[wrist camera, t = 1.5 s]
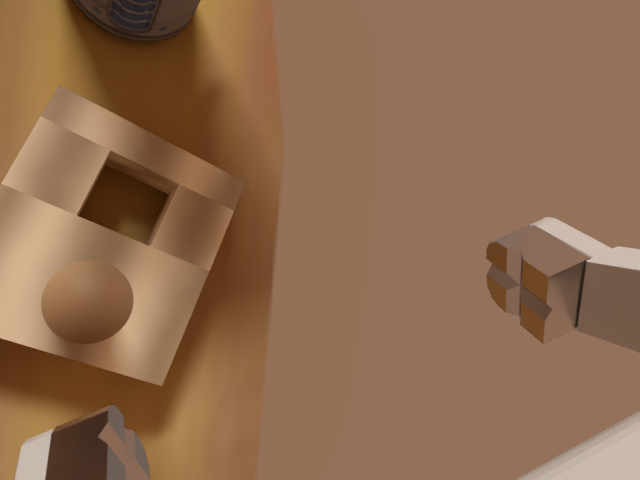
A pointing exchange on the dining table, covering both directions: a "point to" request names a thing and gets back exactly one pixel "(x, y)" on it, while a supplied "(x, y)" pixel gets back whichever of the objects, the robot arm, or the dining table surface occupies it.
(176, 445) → the dining table surface
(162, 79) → the dining table surface
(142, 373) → the board
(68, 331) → the peg
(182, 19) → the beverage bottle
